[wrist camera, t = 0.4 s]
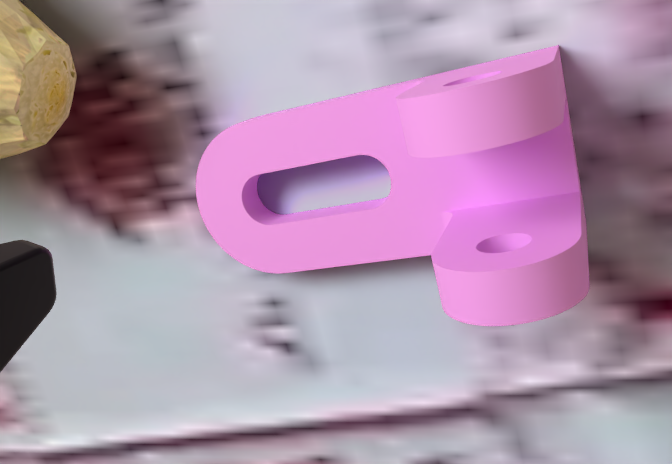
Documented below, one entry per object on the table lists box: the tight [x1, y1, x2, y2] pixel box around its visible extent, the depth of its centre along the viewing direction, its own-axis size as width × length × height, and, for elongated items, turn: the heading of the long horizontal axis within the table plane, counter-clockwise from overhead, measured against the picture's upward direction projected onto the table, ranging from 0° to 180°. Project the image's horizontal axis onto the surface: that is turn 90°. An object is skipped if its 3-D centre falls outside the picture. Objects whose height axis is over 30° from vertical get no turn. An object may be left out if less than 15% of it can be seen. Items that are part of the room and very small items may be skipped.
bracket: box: [196, 45, 590, 326], centre depth 19 cm, size 13×6×7 cm, turn 105°
